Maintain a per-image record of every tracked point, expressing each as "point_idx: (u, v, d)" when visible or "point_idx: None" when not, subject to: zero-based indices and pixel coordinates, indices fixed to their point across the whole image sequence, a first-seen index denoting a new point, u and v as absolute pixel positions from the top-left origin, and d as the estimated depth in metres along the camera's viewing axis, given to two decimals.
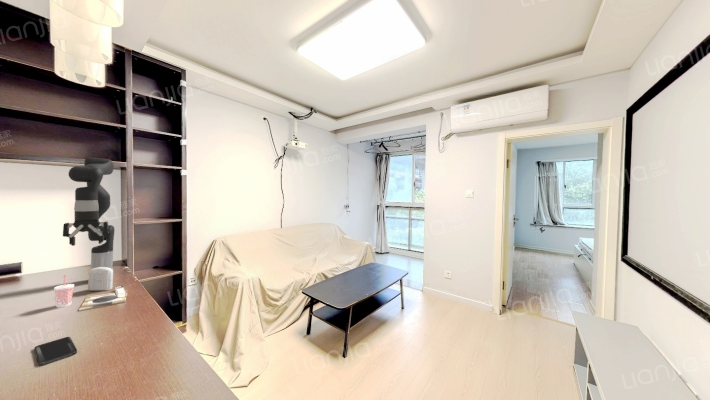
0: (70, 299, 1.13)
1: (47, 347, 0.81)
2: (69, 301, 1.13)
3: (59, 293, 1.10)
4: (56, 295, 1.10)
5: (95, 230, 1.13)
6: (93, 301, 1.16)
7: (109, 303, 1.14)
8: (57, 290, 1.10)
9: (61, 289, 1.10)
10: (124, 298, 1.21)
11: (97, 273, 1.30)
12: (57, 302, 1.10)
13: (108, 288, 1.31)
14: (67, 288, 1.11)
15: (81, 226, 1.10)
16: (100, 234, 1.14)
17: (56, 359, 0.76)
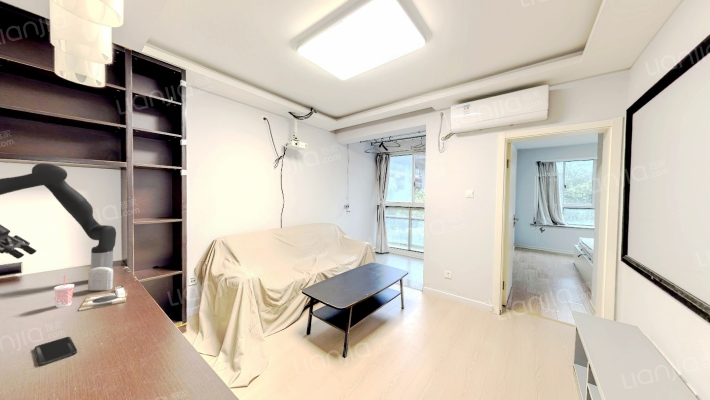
0: (70, 300, 1.13)
1: (47, 347, 0.81)
2: (69, 301, 1.13)
3: (59, 293, 1.10)
4: (56, 295, 1.10)
5: None
6: (93, 301, 1.16)
7: (109, 303, 1.14)
8: (57, 290, 1.10)
9: (61, 289, 1.10)
10: (124, 298, 1.21)
11: (98, 273, 1.30)
12: (57, 302, 1.10)
13: (108, 288, 1.31)
14: (67, 288, 1.11)
15: None
16: None
17: (56, 359, 0.76)
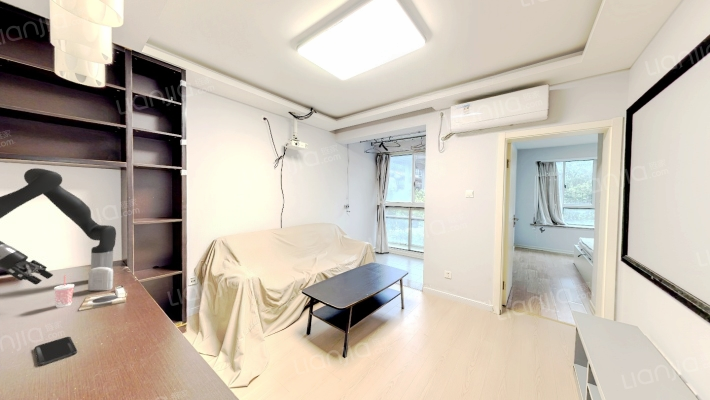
0: (70, 300, 1.13)
1: (47, 347, 0.81)
2: (69, 301, 1.13)
3: (59, 293, 1.10)
4: (56, 295, 1.10)
5: None
6: (93, 301, 1.16)
7: (109, 303, 1.14)
8: (57, 290, 1.10)
9: (61, 289, 1.10)
10: (124, 298, 1.21)
11: (97, 273, 1.30)
12: (57, 302, 1.10)
13: (108, 288, 1.31)
14: (67, 288, 1.11)
15: None
16: None
17: (56, 359, 0.76)
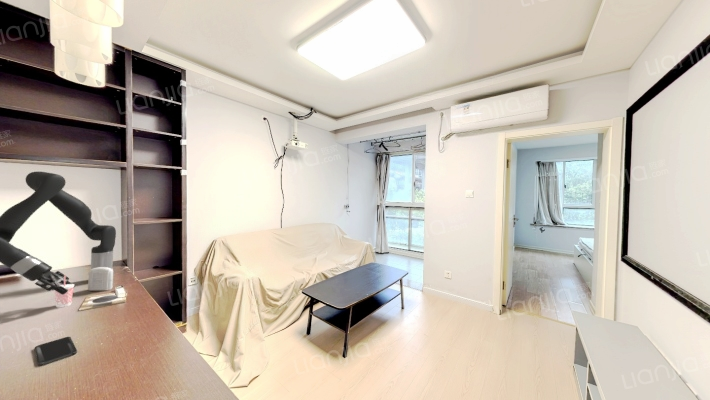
0: (70, 299, 1.13)
1: (47, 347, 0.81)
2: (69, 301, 1.13)
3: (59, 293, 1.10)
4: (56, 295, 1.10)
5: None
6: (93, 301, 1.16)
7: (109, 303, 1.14)
8: None
9: None
10: (124, 298, 1.21)
11: (97, 273, 1.30)
12: (57, 302, 1.10)
13: (108, 288, 1.31)
14: (67, 288, 1.11)
15: None
16: None
17: (56, 359, 0.76)
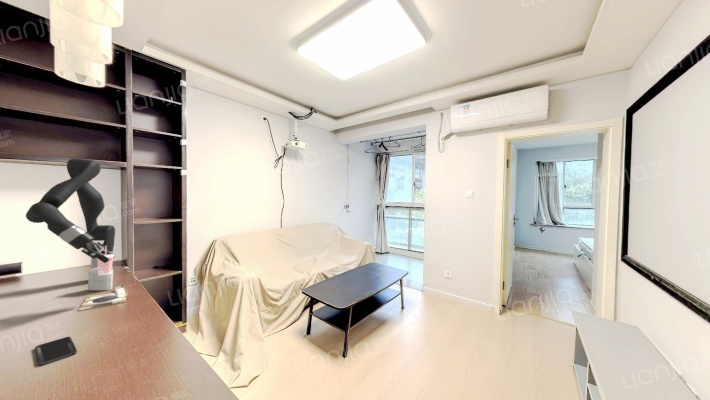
0: (110, 268, 1.20)
1: (47, 347, 0.81)
2: (110, 270, 1.19)
3: (101, 261, 1.16)
4: (98, 263, 1.17)
5: None
6: (93, 301, 1.16)
7: (109, 303, 1.14)
8: None
9: None
10: (124, 298, 1.21)
11: (97, 273, 1.30)
12: (99, 270, 1.17)
13: (108, 288, 1.31)
14: (108, 257, 1.18)
15: None
16: None
17: (56, 359, 0.76)
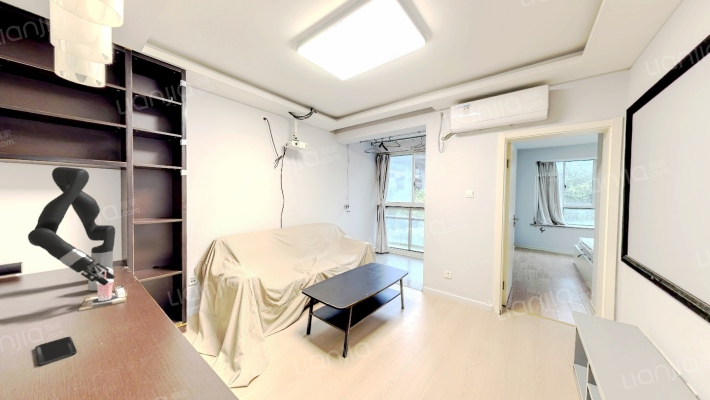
0: (110, 293, 1.20)
1: (47, 347, 0.81)
2: (110, 295, 1.19)
3: (101, 287, 1.17)
4: (98, 289, 1.17)
5: None
6: (93, 301, 1.16)
7: (109, 303, 1.14)
8: (99, 284, 1.16)
9: None
10: (124, 298, 1.21)
11: None
12: (99, 296, 1.17)
13: None
14: (108, 282, 1.18)
15: None
16: None
17: (55, 359, 0.76)
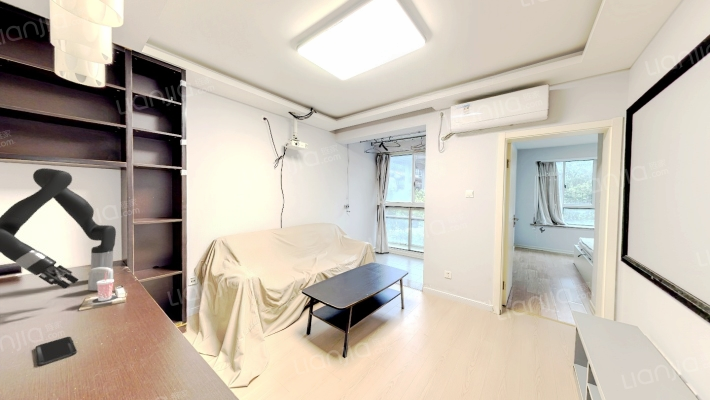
0: (111, 293, 1.20)
1: (47, 347, 0.81)
2: (110, 295, 1.19)
3: (101, 287, 1.17)
4: (99, 289, 1.17)
5: None
6: (93, 301, 1.16)
7: (109, 303, 1.14)
8: (100, 284, 1.16)
9: (103, 283, 1.17)
10: (124, 298, 1.21)
11: (97, 273, 1.30)
12: (99, 296, 1.17)
13: None
14: (108, 283, 1.18)
15: None
16: None
17: (55, 359, 0.76)
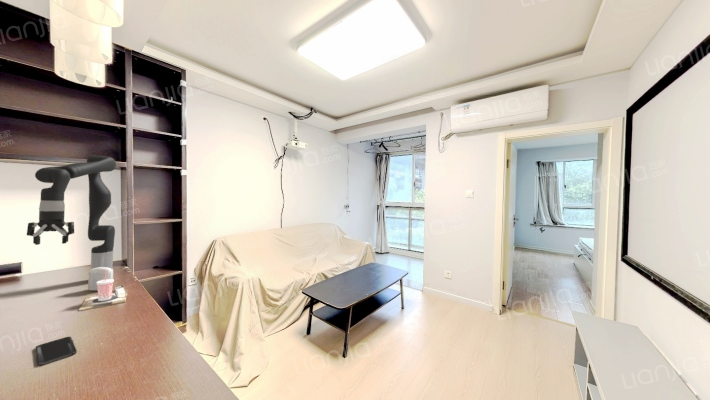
0: (111, 293, 1.20)
1: (47, 347, 0.81)
2: (110, 295, 1.19)
3: (101, 287, 1.17)
4: (98, 289, 1.17)
5: (59, 230, 1.15)
6: (93, 301, 1.16)
7: (109, 303, 1.14)
8: (100, 284, 1.16)
9: (103, 283, 1.17)
10: (124, 298, 1.21)
11: (97, 273, 1.30)
12: (99, 296, 1.17)
13: None
14: (108, 283, 1.18)
15: (45, 226, 1.12)
16: (64, 234, 1.16)
17: (55, 359, 0.76)
